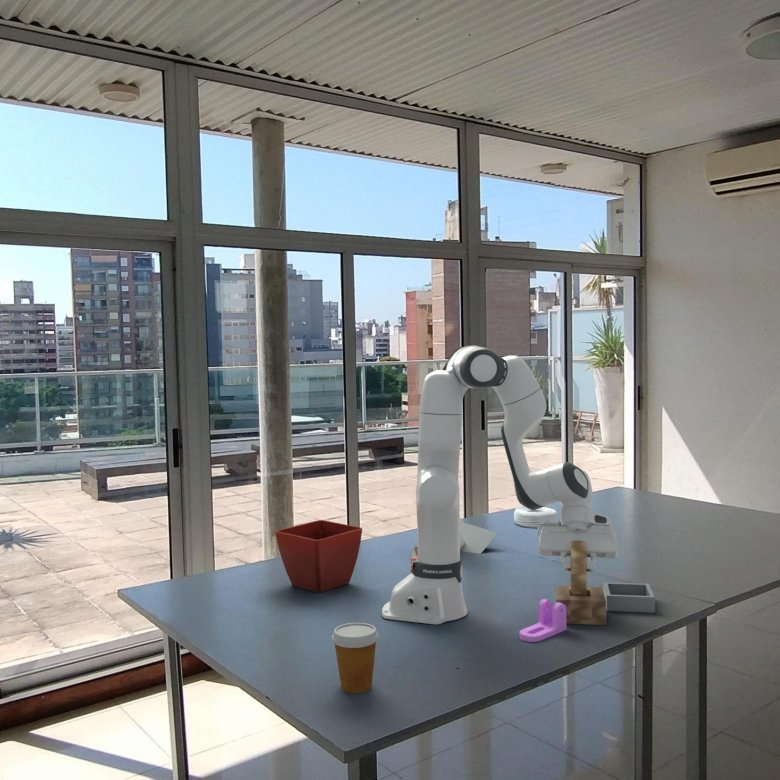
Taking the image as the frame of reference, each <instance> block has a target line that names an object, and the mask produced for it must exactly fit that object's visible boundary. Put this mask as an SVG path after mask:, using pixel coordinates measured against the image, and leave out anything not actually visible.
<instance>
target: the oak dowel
mask: <svg viewBox="0 0 780 780" xmlns="http://www.w3.org/2000/svg"><path fill="white" fill-rule="evenodd" d="M587 559H588V557H587V543H586V542H584V541H571V557H570V562H571V571H570V586H571V596H587V586H588V585H587V583H588V582H587V580H588V578H587V575H588V574H587V563H588V562H587V561H588V560H587Z"/></svg>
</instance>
